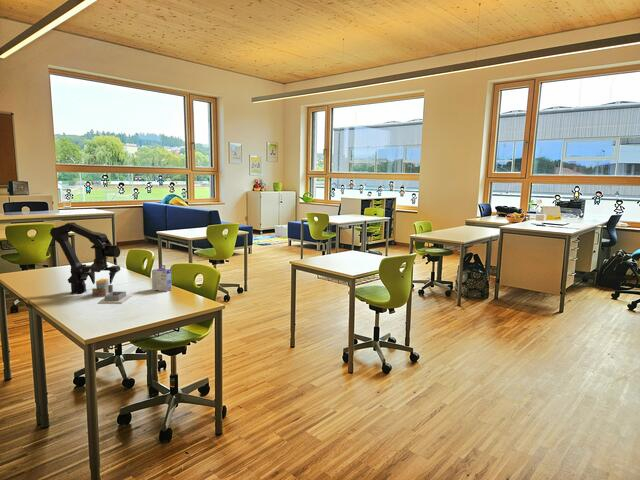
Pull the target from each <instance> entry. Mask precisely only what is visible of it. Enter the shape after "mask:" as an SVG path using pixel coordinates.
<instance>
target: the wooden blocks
mask: <svg viewBox="0 0 640 480" xmlns="http://www.w3.org/2000/svg"><path fill="white" fill-rule="evenodd" d="M91 291H92V296H93V297H104V296H105V295H107V294H106V289H97V288H92V290H91ZM111 292H114V285H113V284H109V293H111Z"/></svg>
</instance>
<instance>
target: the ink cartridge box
mask: <svg viewBox="0 0 640 480" xmlns="http://www.w3.org/2000/svg"><path fill="white" fill-rule="evenodd" d="M172 280H173V279H172V269H171V268H166V265H165V264H159V267H158V268H154V269H152V270H151V288H152V289H151V290H152V291H155V290H159V292H169V291H171V290H170V289H172V290H173V287H172V286H173V284H172V283H173V282H172ZM168 290H169V291H168Z"/></svg>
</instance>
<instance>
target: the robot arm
mask: <svg viewBox="0 0 640 480" xmlns="http://www.w3.org/2000/svg"><path fill="white" fill-rule="evenodd" d="M71 232H72V233H75V234H77V235H79V236H81V237H84V238H85V239H87V240H88V241H89V242H90V243H91V244H92V246H90V249H91V250H92V249H94V259H93V262H92V264H91V265H89V264H87V265H86V263H85V264H83V263H82V262H81V261H80V260H79V258H78V255H77V254H76V252H75V250H74V248H73V246H72V244H71V242H70V240H69V237H70V234H69V233H71ZM49 235H50V236H51V238H52V239H53V240H54V241H55V242H56V243H58V245H59V246H60V247H61V250H62V252H63V254H64V256H65V258H66V260H67V262H68V263H69V266H70V275H71V276H69V278H67V282H68V284H70V289H71V291H70V292H69V294H71V295H72V294H79V295H81V294H83V293H85V292H87V291H88V290H87V284H86V282H85V281H87V279H88V277H89V279H90V280H91V283H92V284H93V285H95V283H96V273H100V272H101V271H105V272H106V271H108V275H109V285H112V283H113V280H114V278H115V277H116V274H117V273H119V272H120V271H121V267H120V265H111V266H109V264H108V262H107V261H108V259H109V258H119V256H120V255H121V250H120V249H121V248H120V247H119V246H118V244H112V242H111V241H110V239H109V238H108V237H107V234H106V233H102V232H99V231H93V230H91V229H88V228H87V227H84V226H81V225H80V224H77V222H73V221H72V222H66V223H65V224H63V225H61V226H55V227H52V228H50V232H49Z"/></svg>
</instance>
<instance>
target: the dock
mask: <svg viewBox="0 0 640 480" xmlns="http://www.w3.org/2000/svg"><path fill="white" fill-rule="evenodd" d="M132 297H133V294H127V291H113V292H109V293H107V294H106V295H105V296H103V298H102V299H101V300H99V301H98V302H97V304H106V305H107V304H109V305H111V304H121V305H122V304H123V303H125V302H126V301H128V300H129V299H130V298H132Z"/></svg>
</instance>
